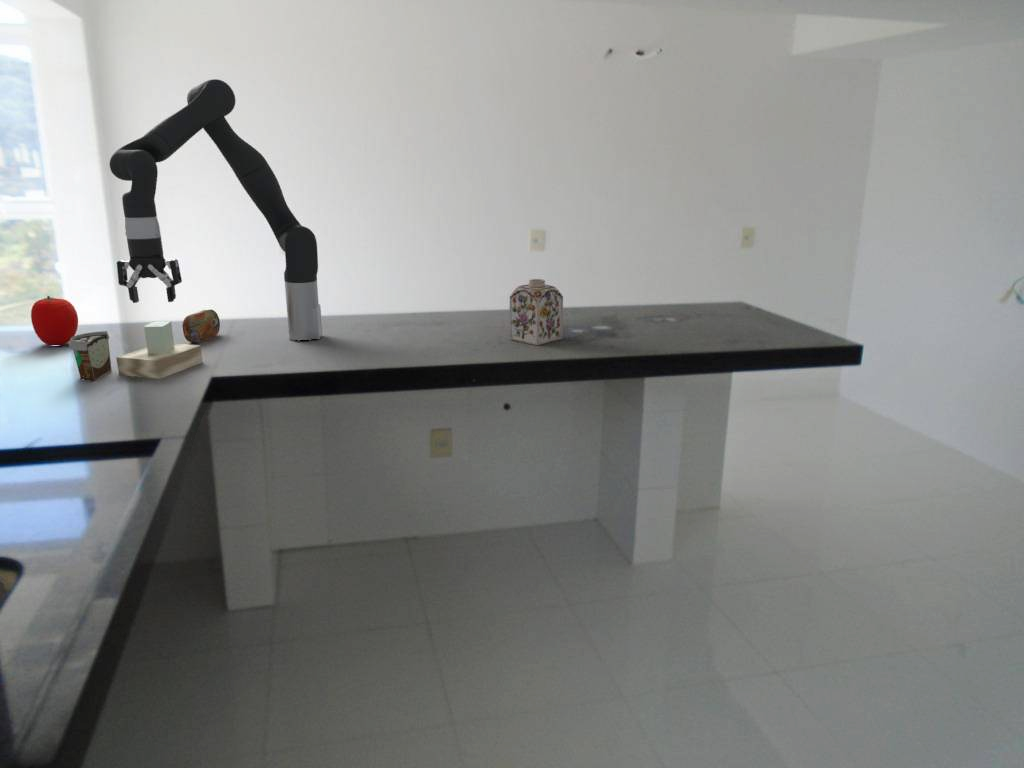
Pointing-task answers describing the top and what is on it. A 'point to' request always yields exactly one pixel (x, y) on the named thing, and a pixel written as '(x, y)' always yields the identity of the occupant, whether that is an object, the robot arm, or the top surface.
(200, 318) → the tin
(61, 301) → the red apple
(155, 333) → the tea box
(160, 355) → the maple block
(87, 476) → the top surface
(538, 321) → the decorative jar
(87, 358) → the food container
